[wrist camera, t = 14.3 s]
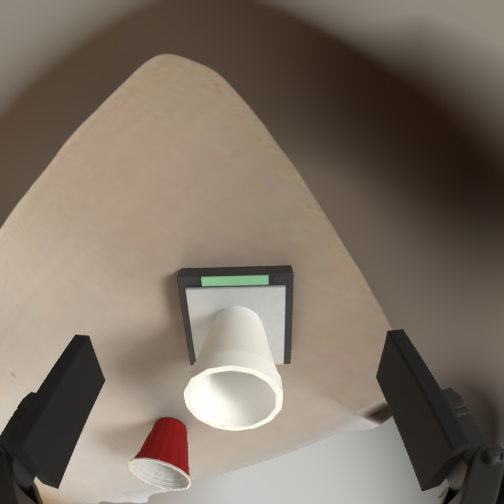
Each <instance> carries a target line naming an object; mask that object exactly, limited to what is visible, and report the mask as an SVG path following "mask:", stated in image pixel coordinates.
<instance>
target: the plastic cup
mask: <svg viewBox="0 0 504 504" xmlns="http://www.w3.org/2000/svg"><path fill="white" fill-rule="evenodd" d="M128 468H129V469H130V471H131V472H132V473H133V474H134V475H135V476H136V477H138V478H139V479H140V480H142V481H144V482H146V483H148V484H150V485H153V486H156V487H159V488H162V489H168V490H184V489H187V488H189V487H190V485H191V483H192V482H191V479H190V476H189V467H188V443H187V431H186V427H185V425H184V424H183V423H182V422H180V421H179V420H177V419H174V418H167V417H164V418H160V419H159V420H158V421H157V422H156V423H155V425H154V427H153V429H152V431H151V432H150V433H149V435H148V437H147V439H146V441H145V442H144V444H143V446H142V448H141V450H140V451H139V452H138V454H137V456H135V458H134V459H132V460H131V461H129V463H128Z"/></svg>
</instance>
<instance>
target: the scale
mask: <svg viewBox="0 0 504 504" xmlns="http://www.w3.org/2000/svg"><path fill="white" fill-rule="evenodd" d="M177 280H178V287H179V294H180V301H181V308H182V314H183V321H184V327H185V333H186V339H187V345H188V351H189V357H190V362H191V365H193V364H194V362H196V360H197V357H198V355H199V353H200V350H201V348H202V346H203V343H204V341H205V339H206V337H207V334H208V332H209V330H210V327H211V325H212V323H213V321H214V319H215V317H216V315H217V314H218V313H219V312H221V311H222V310H224V309H225V308H229V307H234V306H240V307H245V308H249V309H250V310H252V311H253V312H255V313H256V314H257V315H258V317H259V318H260V320H261V322H262V325H263V327H264V331H265V334H266V337H267V341H268V344H269V347H270V350H271V354H272V357H273V360H274V363H275V364H290V359H291V336H292V309H293V270H292V267H291V265H287V266H256V267H221V268H182V269H181V270H180V272H179V274H178V276H177Z"/></svg>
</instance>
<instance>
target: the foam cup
mask: <svg viewBox="0 0 504 504" xmlns="http://www.w3.org/2000/svg"><path fill="white" fill-rule="evenodd" d="M184 397H185V402H186V407H187V408H188V409H189V410H190V411H191V413H192V414H193V415H194V416H195V417H196V418H197V419H198V420H200V421H202V422H204V423H206V424H208V425H210V426H212V427H215V428H220V429H226V430H233V431H238V430H246V429H253V428H257V427H259V426H261V425H263V424H265V423H267V422H269V421H271V420H272V419H273V418H274V417H275V416H276V414H277V413H278V412H279V411H280V410H281V408H282V398H283V391H282V382H281V377H280V375H279V373H278V372H277V370H276V366H275V363H274V360H273V357H272V354H271V350H270V347H269V344H268V341H267V337H266V334H265V331H264V327H263V325H262V322H261V320H260V318H259V317H258V315H257V314H256V313H255V312H253V311H252V310H250V309H249V308H245V307H240V306H234V307H229V308H225V309H224V310H222V311H221V312H219V313H218V314H217V315H216V317H215V319H214V321H213V323H212V325H211V327H210V330H209V332H208V334H207V337H206V339H205V341H204V343H203V346H202V348H201V350H200V353H199V355H198V357H197V360H196V362H194V364H193V366H192V368H191V370H190V372H189V374H188V376H187V380H186V384H185V388H184Z"/></svg>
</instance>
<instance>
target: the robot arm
mask: <svg viewBox="0 0 504 504" xmlns="http://www.w3.org/2000/svg"><path fill="white" fill-rule="evenodd" d="M376 378H377V381H378V383H379V385H380V387H381V390H382V392H383V394H384V397H385V399H386V401H387V404H388V406H389V408H390V411H391V413H392V416H393V418H394V420H395V423H396V425H397V428H398V430H399V432H400V435H401V438H402V440H403V443H404V445H405V448H406V450H407V453H408V455H409V458H410V460H411V463H412V466H413V468H414V471H415V474H416V476H417V479H418V482H419V484H420V487H421V490H422V491H425V490H428V489H431V488H434V487H437V486H440V485H441V483H442V482H443V481H444V480H445V479H446V478H447V481H448V483H449V485H448V486H447V487H446V488H445V489H444V490H443V491H442V492H441V494H440V495H439V496H438V498H441V497H442V496H443V497H442V499H441V502H440V504H504V449H503V448H502V447H501V446H500V445H498V444H496V443H493V442H488V441H487V439H486V438H485V436H484V434H483V433H482V431H481V429H480V427H479V426H478V424H477V423H476V421H475V419H474V417H473V416H472V414H470V411H469V409H468V408H467V407H466V404H465V403H464V401H463V399H462V398H461V396H460V395H459V394H458V393H457V392H455V391H454V390H453V389H451V388H448V389H444V390H441V389H440V387H439V385H438V384H437V382H436V380H435V379H434V377H433V375H432V374H431V372H430V371H429V369H428V367H427V366H426V364H425V363H424V361H423V359H422V358H421V356H420V355H419V353H418V352H417V350H416V348H415V347H414V345H413V344H412V343H411V341H410V339H409V338H408V336H407V335H406V333H405V332H404V330H403V329H401V330H392V331H388V332H387V336H386V340H385V345H384V349H383V353H382V357H381V360H380V364H379V368H378V372H377V375H376ZM104 382H105V378H104V376H103V373H102V371H101V368H100V365H99V363H98V360H97V357H96V354H95V352H94V349H93V346H92V343H91V340H90V337H89V336H85V335H75V336H74V337H73V339H72V340H71V342H70V343H69V345H68V346H67V347H66V349H65V350H64V352H63V353H62V355H61V356H60V358H59V359H58V361H57V362H56V364H55V365H54V367H53V368H52V370H51V371H50V373H49V374H48V376H47V377H46V379H45V380H44V382H43V383H42V385H41V386H40V388H39V390H38V391H37V393H34V392H31V393H29V394H28V395H27V396H26V397H25V398H23V399H22V401H21V403H20V404H19V406H18V407H17V409H16V411H15V412H14V414H13V416H12V417H11V419H10V420H9V422H8V424H7V425H6V427H5V429H4V430H3V432H2V434H1V435H0V504H43V502H42V500H41V497H40V494H39V491H38V489H37V486H36V484H35V482H34V479H35V476H36V477H37V478H38V479H39V480H40V481H41V482H42V483H43V484H46V485H48V486H51V487H54V488H57V489H58V488H59V485H60V483H61V480H62V478H63V475H64V473H65V470H66V468H67V465H68V463H69V460H70V458H71V456H72V453H73V451H74V448H75V446H76V444H77V441H78V439H79V437H80V434H81V432H82V430H83V428H84V425H85V423H86V421H87V419H88V416H89V414H90V412H91V410H92V408H93V405H94V403H95V401H96V399H97V397H98V395H99V393H100V390H101V388H102V386H103V384H104Z"/></svg>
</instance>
